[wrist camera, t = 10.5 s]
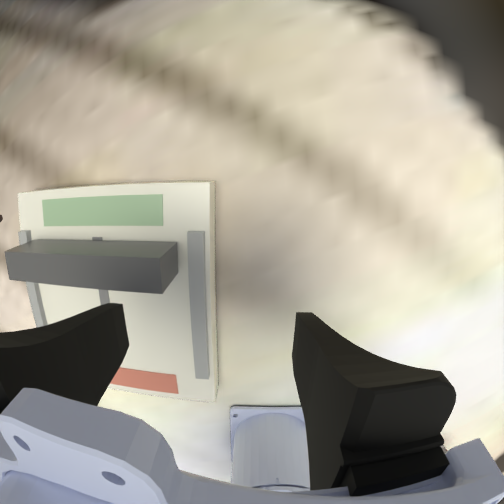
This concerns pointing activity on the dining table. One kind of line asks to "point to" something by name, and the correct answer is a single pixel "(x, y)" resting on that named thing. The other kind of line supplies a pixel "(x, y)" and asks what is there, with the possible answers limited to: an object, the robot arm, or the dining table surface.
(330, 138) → the dining table surface
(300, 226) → the dining table surface
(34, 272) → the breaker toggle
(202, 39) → the dining table surface
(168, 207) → the panel
